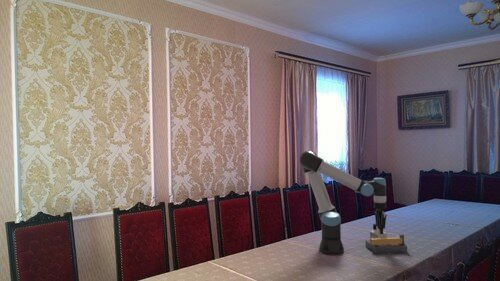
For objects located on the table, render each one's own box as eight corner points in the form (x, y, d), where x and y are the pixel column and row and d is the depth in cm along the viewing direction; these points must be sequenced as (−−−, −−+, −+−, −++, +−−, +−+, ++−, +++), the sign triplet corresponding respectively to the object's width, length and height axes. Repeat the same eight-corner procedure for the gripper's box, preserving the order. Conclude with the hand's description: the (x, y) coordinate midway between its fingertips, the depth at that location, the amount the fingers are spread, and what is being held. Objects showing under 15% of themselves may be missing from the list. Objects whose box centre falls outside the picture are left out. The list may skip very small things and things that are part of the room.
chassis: (375, 253, 209) (375, 246, 209) (365, 246, 224) (365, 240, 224) (408, 252, 210) (408, 245, 210) (396, 245, 225) (396, 238, 225)
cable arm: (402, 242, 217) (402, 233, 217) (405, 244, 213) (405, 235, 213) (369, 243, 215) (369, 235, 215) (372, 245, 211) (372, 236, 211)
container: (369, 242, 233) (369, 223, 233) (379, 241, 235) (378, 222, 236) (377, 245, 225) (377, 225, 226) (387, 244, 228) (386, 224, 228)
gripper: (390, 203, 216) (391, 241, 215) (381, 200, 229) (381, 235, 228) (379, 203, 215) (379, 241, 215) (370, 200, 228) (370, 236, 228)
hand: (380, 238), depth 222 cm, fingers closed
